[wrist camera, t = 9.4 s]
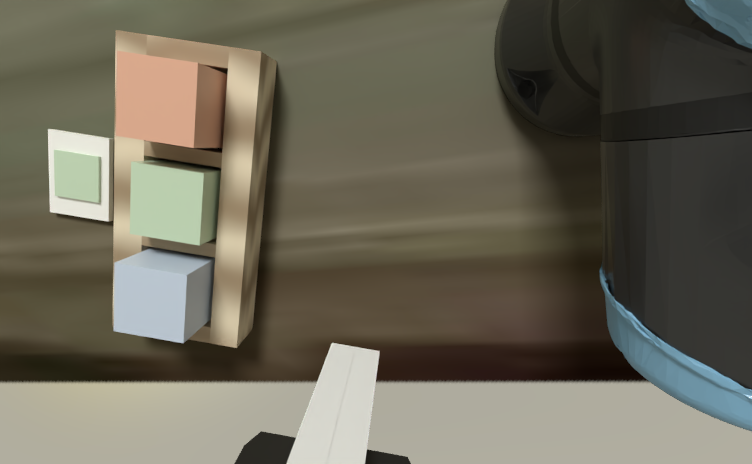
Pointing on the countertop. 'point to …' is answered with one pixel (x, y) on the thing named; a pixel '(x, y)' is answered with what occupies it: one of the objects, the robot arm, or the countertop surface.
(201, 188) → the sage key
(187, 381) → the countertop surface
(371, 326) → the countertop surface
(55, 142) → the card
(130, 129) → the terracotta key
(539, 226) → the countertop surface
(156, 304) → the slate key
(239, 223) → the key panel
